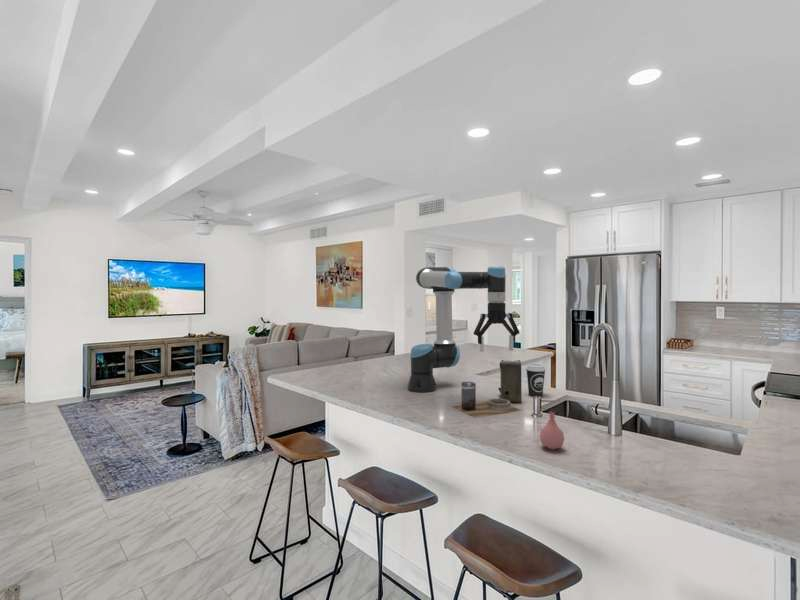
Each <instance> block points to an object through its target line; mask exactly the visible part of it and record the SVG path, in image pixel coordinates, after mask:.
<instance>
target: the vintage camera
mask: <svg viewBox="0 0 800 600" xmlns="http://www.w3.org/2000/svg"><path fill="white" fill-rule="evenodd" d="M499 369H500V371H499V372H500V387H498V388H497V389H498V392H499V393H500V399H508V400H509V401H510V402H511V404H513V403H514V404H515V403H516V404H517V403H518V404H520V403H522V399H523V398H522V361H521V360H520V359H518V360H503V359H502V360H500V362H499Z"/></svg>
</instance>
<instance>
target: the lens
mask: <svg viewBox="0 0 800 600" xmlns="http://www.w3.org/2000/svg"><path fill="white" fill-rule="evenodd" d="M476 387H477V385H476V382H474V381H462V382H461V405H462V409H463V410H467V411H472V410H475V409H476V403H477V401H476V400H477V395H476V393H477V392H476V389H477V388H476Z"/></svg>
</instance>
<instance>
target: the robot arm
mask: <svg viewBox="0 0 800 600" xmlns="http://www.w3.org/2000/svg"><path fill="white" fill-rule="evenodd" d="M506 278H507V277H506V268H505V266H502V265H501V266H496V265H495V266H488V268H487V271H456V269H454V267H447V266H443V267H442V266H440V267H438V266H436V267H435V266H432V267H431V266H427V267H423V268H421V269H420V270H418V271H417V273H416V276H415V281H416V283H417V285H418V286H419V287H420V288H423V289H428V290H432V293H433V294H434V295H435V321H436V324H435V325H436V327H435V328H436V339H435V340H434V342H433V344H431V343H425V344H424V343H421V344H417V345H413V346H412V347H411V350H410V355H409V356H410V376H409V380H408V384H407V390H408V391H410V392H414V393H415V392H416V393H430V392H434V391H436V390H437V383H436V379H435V377H434V369H441V368H443V369H444V368H451V367H455V366H457V365H458V363H459V361H460V358H461V350H460V348H459V346H458V345H456V342H455V340H454V339H453V300H452V298H453V297H452V295H453V294H454V293H455V290H460V289H463V290H464V289H473V290H475V289H479V290H482V289H487V313H483V312H482V313H480V318H479V320H478V322H477V325H476V327H475V329H474V331H473V335H474V336H477V343H478V345H479V352H481V353H484V352H485V345H484V343H485V341H484V340H485V336H483V335H484V334H485V333H486V332H487V330H488V329H489V328H490V327H491V325H492V324H494V325H497V324H502V325H503V326H504V328H505V329H506V330H507V331H508V333H509V334H510V335H508V350H509V351H511V352H513V351H514V344H515V343H516V336H517V335H519V334H520V333H521V332H520V330H519V328H518V326H517V324H516V322H515V319H514V317H513V312H512V313H511V312H507V313H506V303H505V302H506ZM506 318H507V320H508V321H507V320H506ZM486 319H487V320H486ZM485 320H486V323H485V324H484V322H485ZM508 322H509V324H510V325H509V324H508Z"/></svg>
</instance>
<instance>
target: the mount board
mask: <svg viewBox="0 0 800 600" xmlns="http://www.w3.org/2000/svg"><path fill="white" fill-rule="evenodd" d="M511 404H512V403H511V402H510V401H509V400H508V399H501V398H489V399H488V400H487V401H479V402H476V409H475V410H472V411H467V410H463V409H462V404H460V405H459V404H458V405H454V406H453V405H452V406H451V408H452V409H455V410H457V411H460V412H461V413H464V414H466V415H468V416H470V417H472V418H474V419H478V418H479V419H480V418H484V417H490V416H497V415H501V414H508V413H514V412H520V411H522V409H520V408H518V407H514V406H512V405H511Z"/></svg>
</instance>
